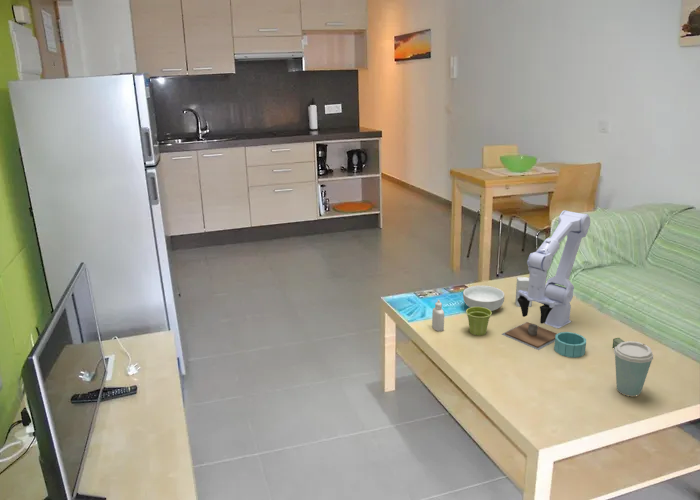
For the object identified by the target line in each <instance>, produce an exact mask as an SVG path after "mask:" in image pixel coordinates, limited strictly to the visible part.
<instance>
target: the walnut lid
mask: <svg viewBox="0 0 700 500" xmlns="http://www.w3.org/2000/svg"><path fill="white" fill-rule="evenodd" d="M526 322H527V323H526ZM526 322H524V323H525V324H524V323H522V324H523V325H522V324H520V325H521V326H519V325H518V326H519V327H517V326H515V327H516V328H515V327H514V329H513V328H511V329H512V330H511V329H510V331H509V330H507V331H508V332H507V331H505V332H506V333H505V332H504V333H505V334H506V335H508V336H510V337H513V338H515V339H517V340H520V341H522V342H524V343H527V344H529V345H531V346H534V347H536V348H539V347H541V346H543V345H545V344H546V343H548V342H550V341H552V340H554V339H555V336H556V334H558V333H557V332H554V331H551V330H549V329H546V328H544V327H541V326H539V325H537V324H534V323H532V322H531V323H530V322H528V321H526Z"/></svg>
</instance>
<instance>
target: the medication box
mask: <svg viewBox="0 0 700 500" xmlns="http://www.w3.org/2000/svg"><path fill="white" fill-rule="evenodd" d="M621 342H626V341H624V340H623V339H622V338H621V337H615V338H613V339H612V347H611V348H612V349H613V348H615V347H616V346H617V345H618V344H620V343H621Z"/></svg>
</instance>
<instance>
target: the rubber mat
mask: <svg viewBox="0 0 700 500" xmlns="http://www.w3.org/2000/svg"><path fill="white" fill-rule="evenodd" d="M527 322H528V321H526V322H523V323H522V324H520V325H518V326H515V327H514V328H516V327H519V326H521V325H523V324H525V323H527ZM514 328H513V327H512V328H511V329H510V330H512V329H514ZM510 330H507V331H505V332H502V333H501V335H502V336H503V337H507V338H509V339H512V340H514V341H516V342H519V343H521V344H524V345H525V346H527V347H530V348H532V349H534V350H538V351H540V350H541V349H544V348H545V347H547V346H549V345H551V344H553V343H555V339H554V340H552V341H550V342H548V343H546V344H545V345H543V346H541V347H539V348H536V347H534V346H531V345H529V344H527V343H524V342H522V341H520V340H517V339H515V338H513V337H510V336H508V335H506V334H505V333H506V332H508V331H510Z"/></svg>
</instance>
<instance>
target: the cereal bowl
mask: <svg viewBox="0 0 700 500" xmlns="http://www.w3.org/2000/svg"><path fill="white" fill-rule="evenodd" d="M462 298H463V302H464V303H465V305H466V306H467V307H468V308H471V307H484V308H487V309H489V310H490V311H491V312H493V311H495V310H498V309H500V308H501V307H502V306H503V304H504V302H505V292H504V291H503V290H502V289H500V288H497V287H495V286H490V285H472V286H469V287H466V288H465V289H464V290H463V292H462Z"/></svg>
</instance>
